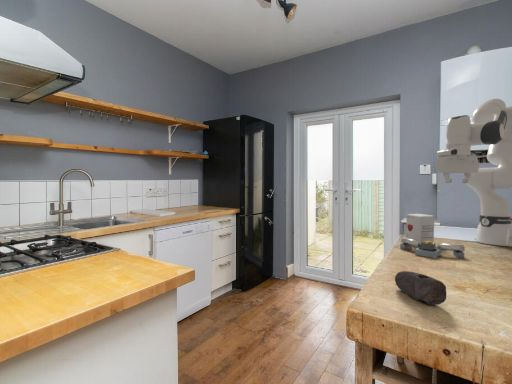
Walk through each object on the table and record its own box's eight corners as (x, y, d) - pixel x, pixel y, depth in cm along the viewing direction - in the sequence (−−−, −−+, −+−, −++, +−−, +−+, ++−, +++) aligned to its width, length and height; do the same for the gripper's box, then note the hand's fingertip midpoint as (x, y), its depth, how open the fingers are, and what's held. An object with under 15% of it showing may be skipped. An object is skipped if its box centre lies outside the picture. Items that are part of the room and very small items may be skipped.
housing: (420, 251, 125) (420, 246, 125) (440, 254, 120) (440, 249, 120) (414, 254, 120) (415, 249, 120) (435, 258, 114) (435, 252, 114)
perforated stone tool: (388, 288, 83) (389, 265, 82) (403, 286, 84) (403, 264, 84) (431, 311, 68) (432, 283, 68) (448, 308, 69) (449, 281, 69)
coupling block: (423, 251, 123) (424, 239, 123) (435, 253, 120) (435, 241, 120) (420, 253, 120) (420, 241, 120) (432, 255, 117) (432, 243, 116)
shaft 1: (423, 252, 124) (423, 241, 124) (415, 252, 123) (416, 241, 123) (406, 247, 133) (407, 237, 133) (399, 248, 132) (399, 237, 131)
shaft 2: (440, 256, 117) (440, 244, 116) (436, 254, 121) (436, 242, 121) (465, 258, 114) (465, 246, 114) (460, 255, 118) (460, 244, 118)
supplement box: (405, 242, 143) (405, 214, 143) (418, 241, 146) (419, 213, 145) (420, 246, 135) (421, 216, 134) (434, 245, 137) (435, 215, 137)
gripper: (469, 153, 128) (468, 183, 129) (433, 152, 124) (432, 183, 124) (483, 152, 122) (482, 183, 123) (445, 150, 117) (445, 183, 118)
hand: (457, 183), depth 123 cm, fingers open, 8 cm apart
